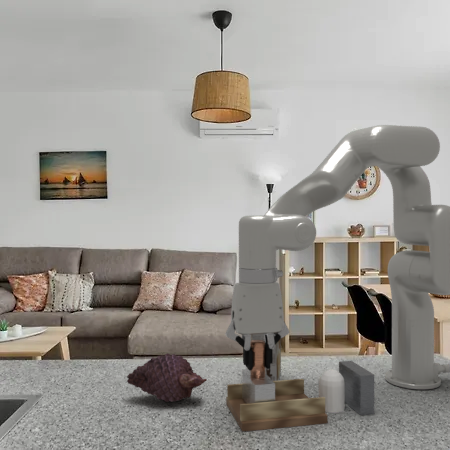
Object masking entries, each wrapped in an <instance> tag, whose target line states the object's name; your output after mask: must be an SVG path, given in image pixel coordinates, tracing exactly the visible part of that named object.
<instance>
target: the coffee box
mask: <svg viewBox="0 0 450 450" xmlns="http://www.w3.org/2000/svg"><path fill="white" fill-rule="evenodd" d="M252 340H263V341H265V337H264V334H252V335H251V341H252ZM281 343H282V338H281V339H280V340H279V341H278V342H277V343H276V345H275V347H274V348H273V362H272V363H270V369H267V368H266V367H265V373H266V375H267V376H268V377H269V378H270V379H271V380H272V381H280V378H281V375H282V355H281V354H282V344H281Z"/></svg>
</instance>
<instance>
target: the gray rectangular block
mask: <svg viewBox="0 0 450 450" xmlns="http://www.w3.org/2000/svg"><path fill="white" fill-rule="evenodd" d="M338 372H339V373H340V374H341V375H342V376H343V378H344V382H345V404H346V405H347V406H349V407H350V408H351V409H352V410H353V411H355V413H358V415H359V416H367V415H375V374H374V373H372V372H371V371H369V370H368V369H366V368H364V367H363V366H361V365H359V364H358V363H356V362H355V361H353V360H343V361H338Z"/></svg>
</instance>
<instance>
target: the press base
mask: <svg viewBox="0 0 450 450" xmlns="http://www.w3.org/2000/svg"><path fill="white" fill-rule="evenodd" d="M273 382H274V383H275V401H271V402H260V403H248V404H246V402H245V401H244V399H243V398H242V383H233V384H231V383H229V384H226V387H227V390H226V391H227V392H226V393H227V394H226V397H225V401H226V402H225V403H226V406H227V408H228V409H229V411H230V412H231V415H232V416H233V418H234V420H235V421H236V423H237V425H238V426H239V428H240V429H241V431H242V433H243V432H252V431H262V430H271V429H272V430H273V429H281V428H291V427H302V426H304V427H305V426H313V425H314V426H315V425H321V424H328V423H329V422H328V421H329V419H328V414H327V412H325V397H319V396H318V397H308V396H307V394H305V378H296V379H282V380H279V381H273Z"/></svg>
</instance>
